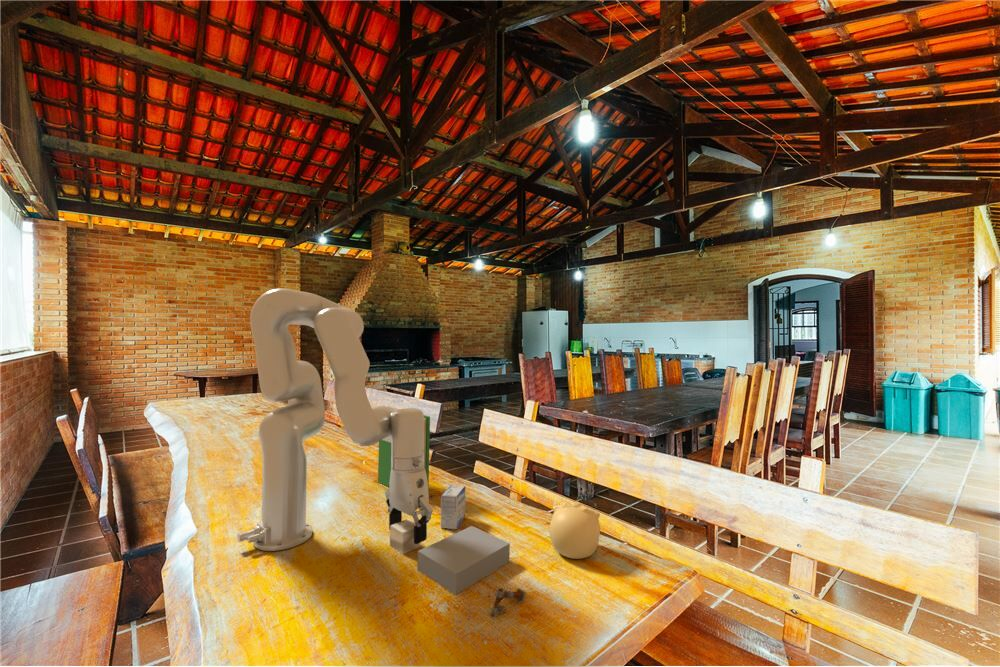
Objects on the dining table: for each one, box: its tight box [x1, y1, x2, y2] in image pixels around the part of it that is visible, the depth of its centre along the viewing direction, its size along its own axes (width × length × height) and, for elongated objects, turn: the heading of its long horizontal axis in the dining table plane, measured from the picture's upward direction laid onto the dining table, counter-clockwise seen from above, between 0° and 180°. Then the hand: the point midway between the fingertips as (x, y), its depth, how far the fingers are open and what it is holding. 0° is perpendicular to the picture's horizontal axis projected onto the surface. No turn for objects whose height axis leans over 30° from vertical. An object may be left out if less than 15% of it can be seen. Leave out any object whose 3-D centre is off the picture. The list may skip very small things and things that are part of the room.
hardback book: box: [377, 414, 431, 490], centre depth 133 cm, size 18×7×24 cm, turn 47°
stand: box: [416, 525, 511, 595], centre depth 89 cm, size 16×12×4 cm
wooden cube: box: [389, 518, 421, 555], centre depth 96 cm, size 5×5×5 cm
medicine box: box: [440, 484, 466, 530], centre depth 109 cm, size 8×4×9 cm, turn 168°
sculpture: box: [549, 501, 601, 560], centre depth 96 cm, size 12×12×11 cm
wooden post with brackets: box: [490, 587, 527, 618], centre depth 75 cm, size 2×8×4 cm, turn 137°
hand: (407, 534), depth 96 cm, fingers open, 9 cm apart
